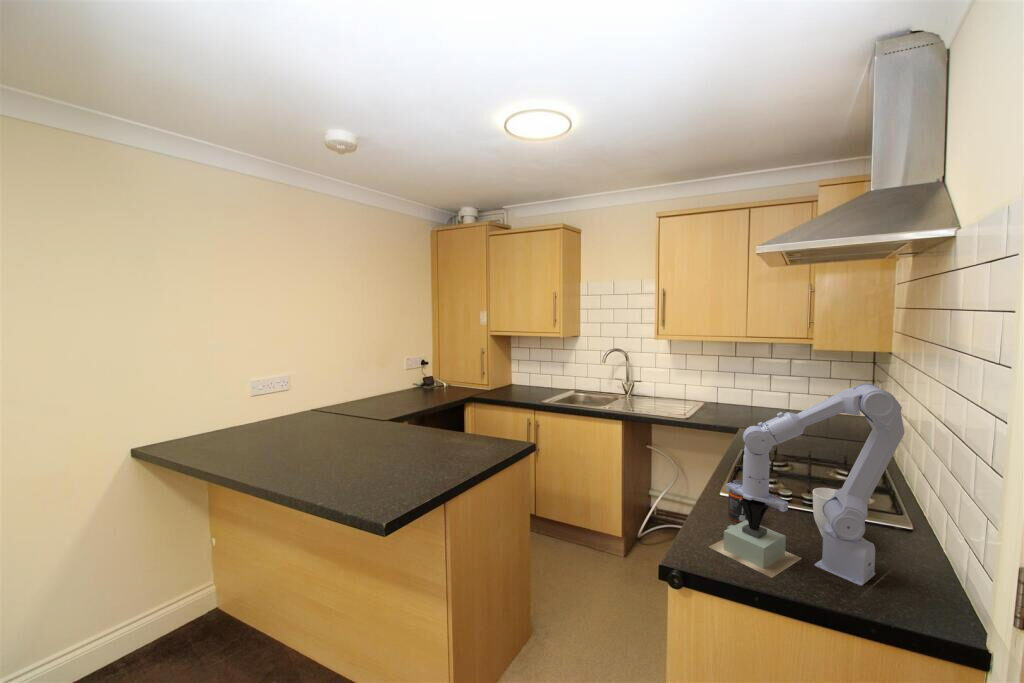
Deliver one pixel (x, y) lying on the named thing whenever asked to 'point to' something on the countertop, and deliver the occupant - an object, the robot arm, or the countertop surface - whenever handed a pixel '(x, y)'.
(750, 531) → the grey square plunger
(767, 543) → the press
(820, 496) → the mug
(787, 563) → the board
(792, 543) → the countertop surface
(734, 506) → the supplement bottle
